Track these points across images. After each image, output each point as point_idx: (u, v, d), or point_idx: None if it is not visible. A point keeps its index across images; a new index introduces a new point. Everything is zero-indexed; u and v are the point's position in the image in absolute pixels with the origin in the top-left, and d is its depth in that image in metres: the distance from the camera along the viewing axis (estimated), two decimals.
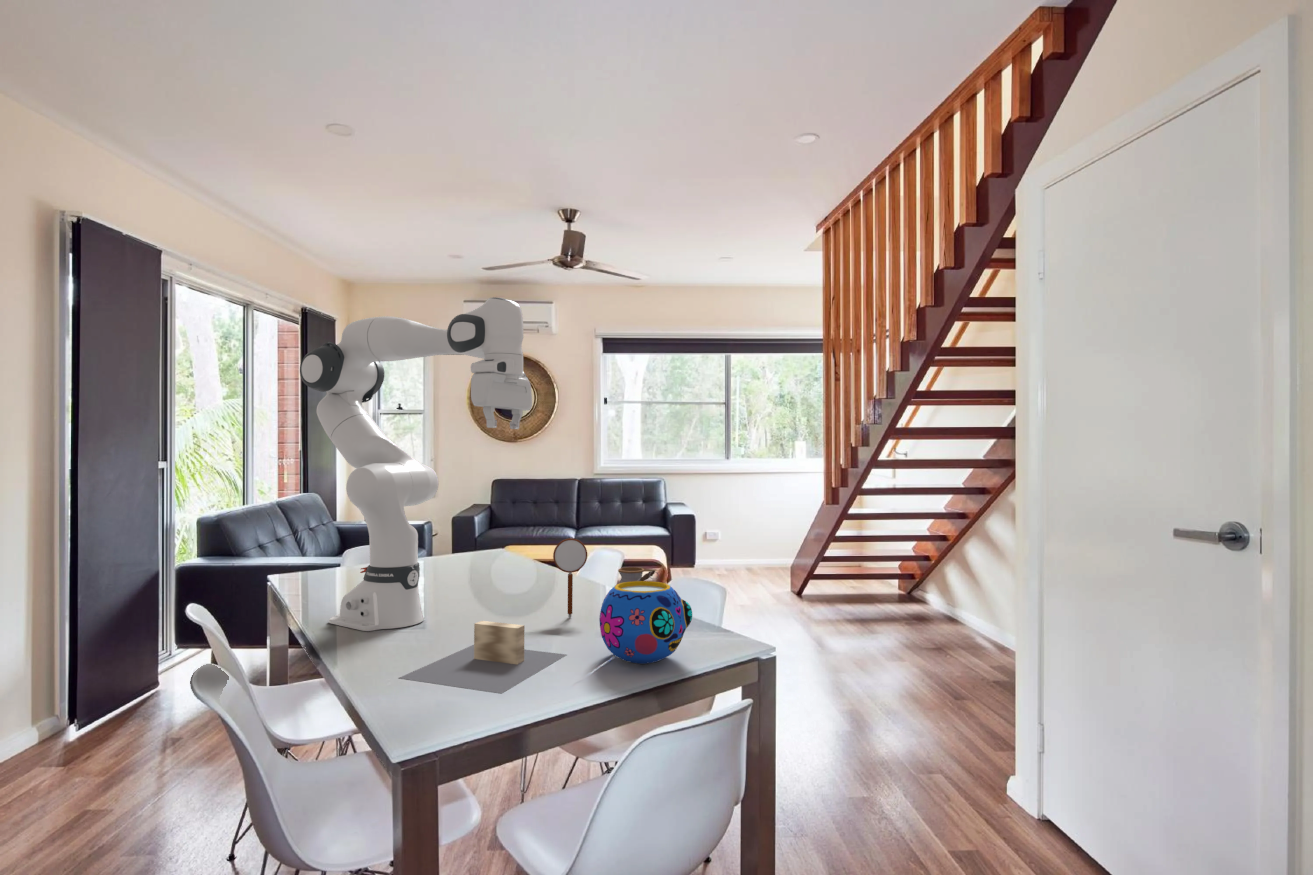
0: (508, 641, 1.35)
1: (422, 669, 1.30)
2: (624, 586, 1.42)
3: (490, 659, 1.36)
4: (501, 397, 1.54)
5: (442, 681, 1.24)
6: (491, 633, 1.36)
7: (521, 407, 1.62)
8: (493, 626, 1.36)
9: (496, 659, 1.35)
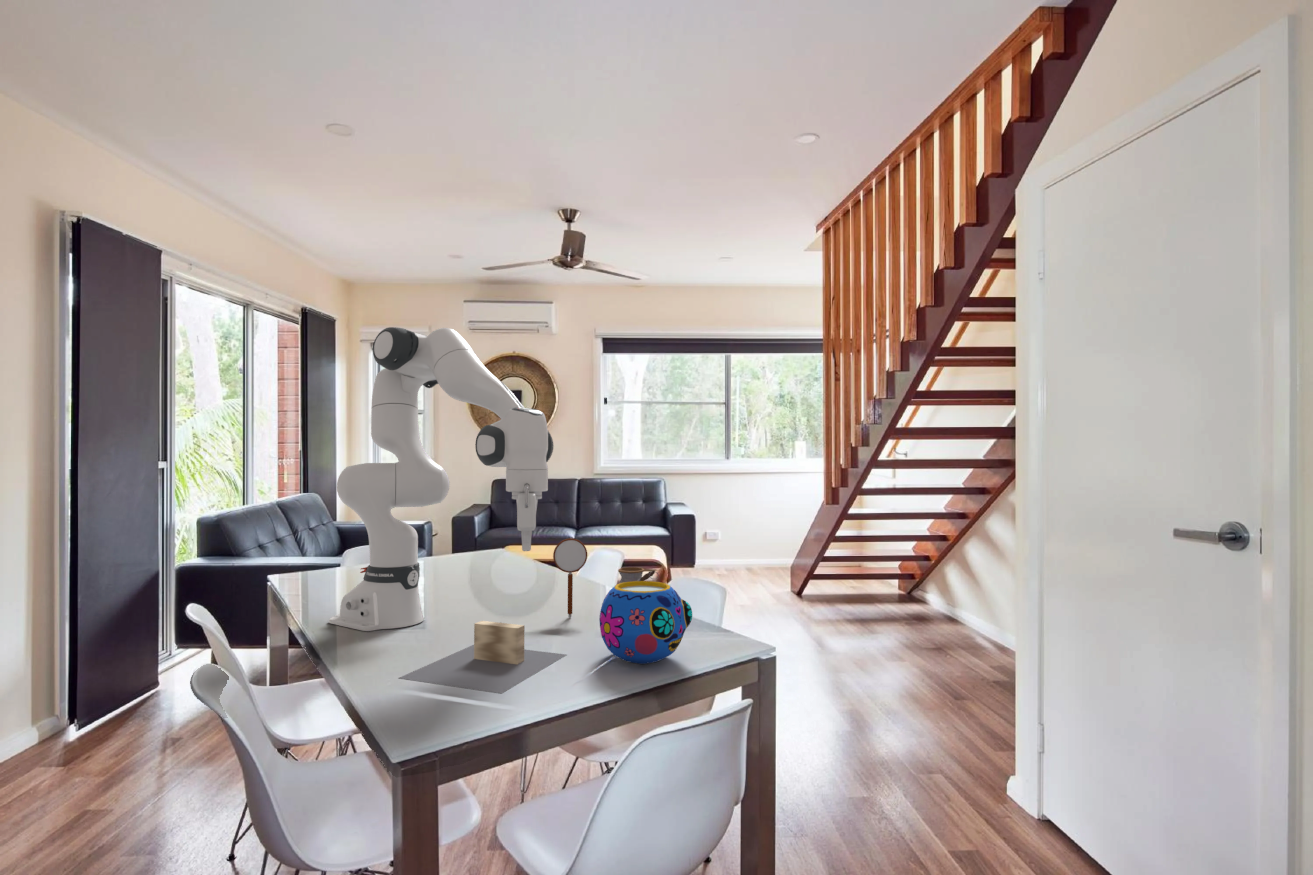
0: (508, 641, 1.35)
1: (422, 669, 1.30)
2: (624, 586, 1.42)
3: (490, 659, 1.36)
4: None
5: (442, 681, 1.24)
6: (491, 633, 1.36)
7: None
8: (493, 626, 1.36)
9: (496, 659, 1.35)
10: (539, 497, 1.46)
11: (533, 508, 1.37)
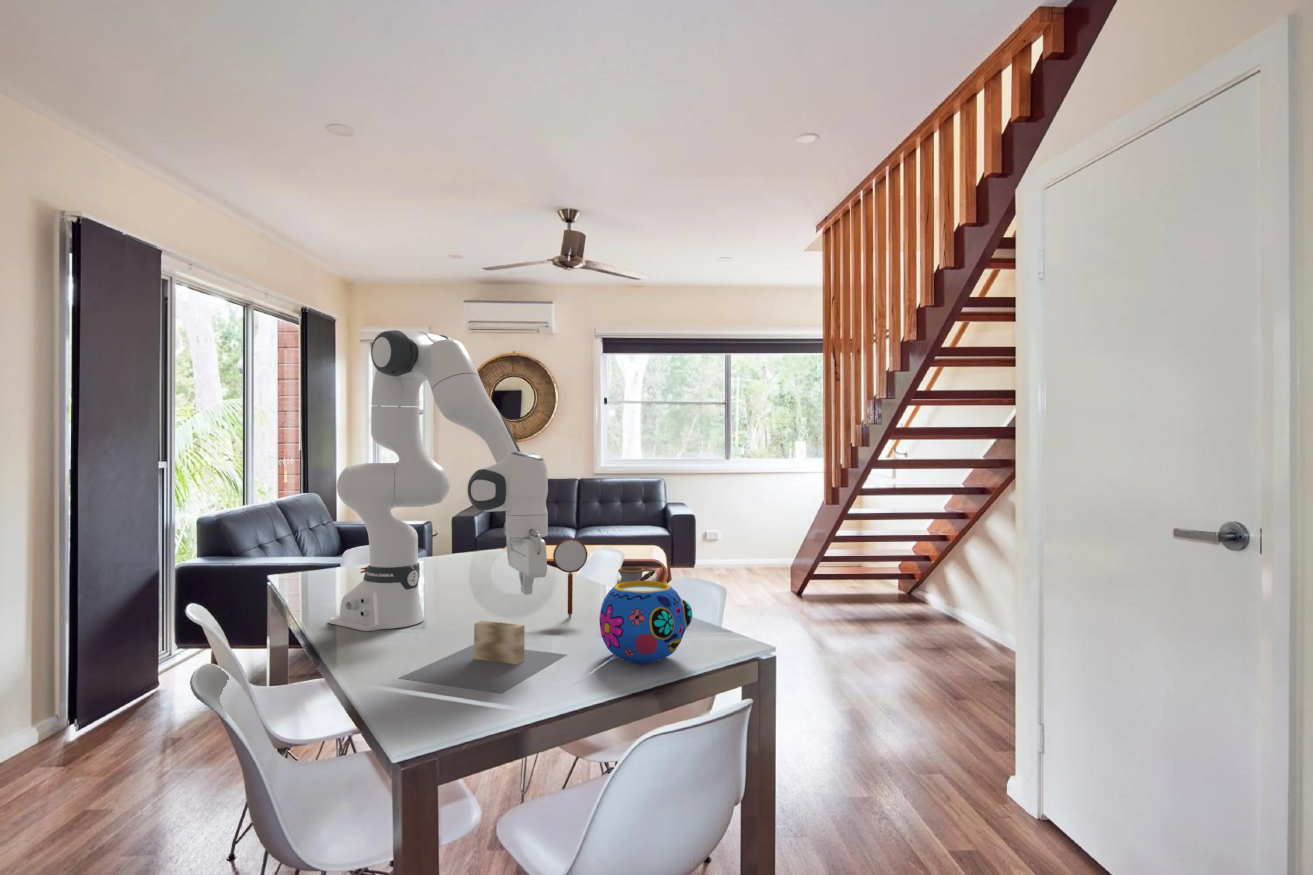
0: (508, 641, 1.35)
1: (422, 669, 1.30)
2: (624, 586, 1.42)
3: (490, 659, 1.36)
4: (514, 559, 1.48)
5: (442, 681, 1.24)
6: (491, 633, 1.36)
7: (523, 572, 1.41)
8: (493, 626, 1.36)
9: (496, 659, 1.35)
10: None
11: (545, 554, 1.38)
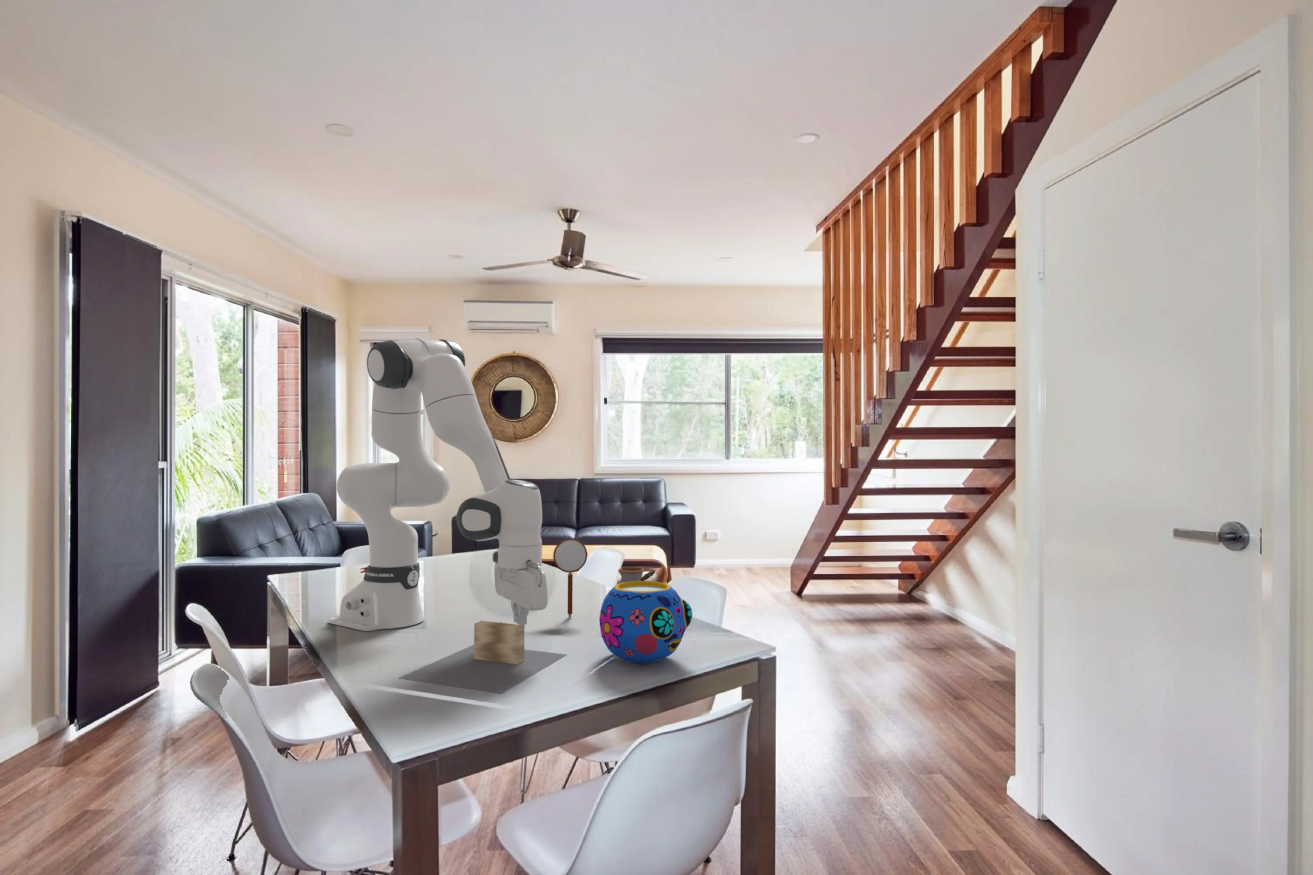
0: (508, 641, 1.35)
1: (422, 669, 1.30)
2: (624, 586, 1.42)
3: (490, 659, 1.36)
4: (506, 588, 1.46)
5: (442, 681, 1.24)
6: (491, 633, 1.36)
7: (521, 604, 1.39)
8: (493, 626, 1.36)
9: (496, 659, 1.35)
10: None
11: (545, 586, 1.37)
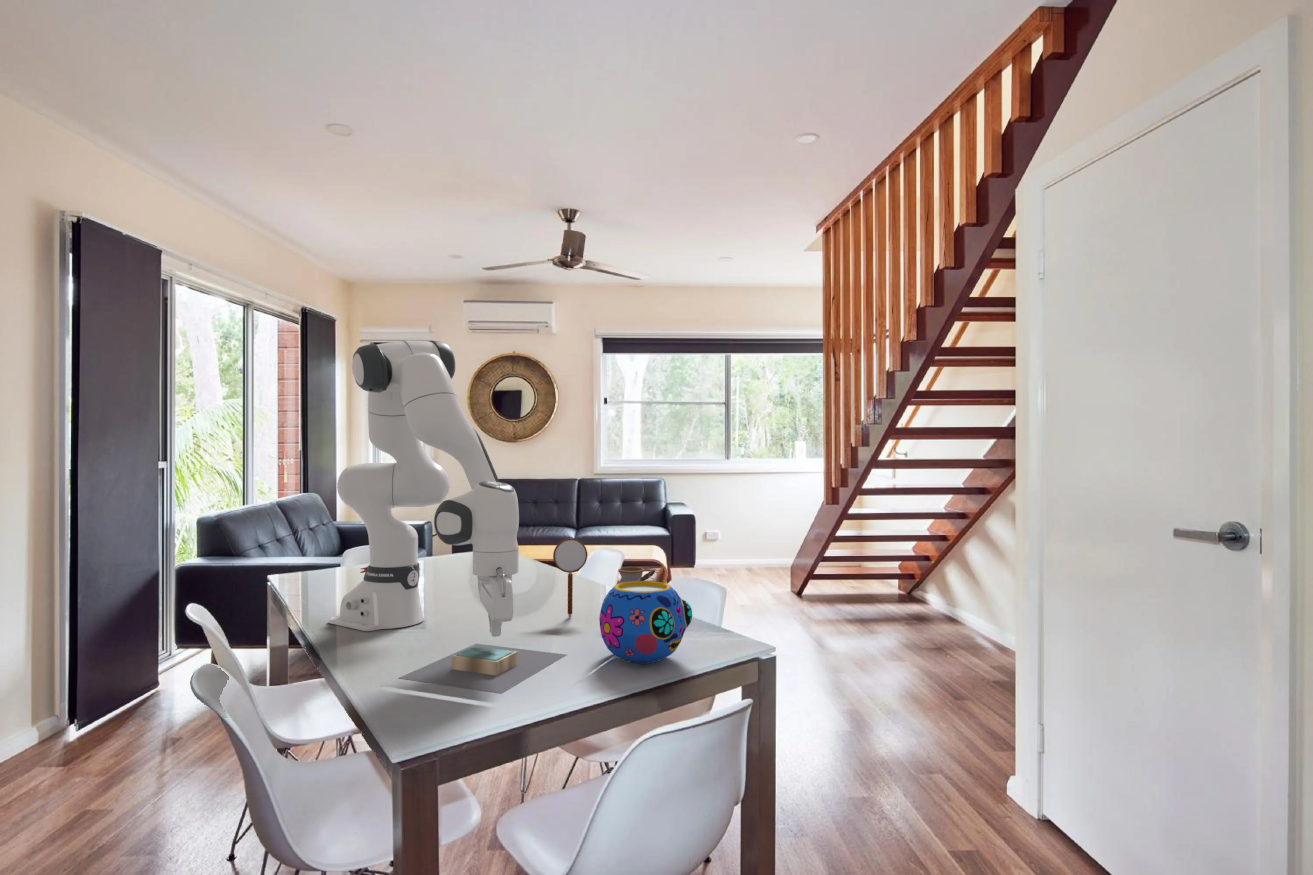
0: None
1: (422, 669, 1.30)
2: (624, 586, 1.42)
3: None
4: (483, 596, 1.38)
5: (442, 681, 1.24)
6: None
7: (489, 614, 1.30)
8: None
9: None
10: (510, 580, 1.35)
11: (510, 597, 1.27)
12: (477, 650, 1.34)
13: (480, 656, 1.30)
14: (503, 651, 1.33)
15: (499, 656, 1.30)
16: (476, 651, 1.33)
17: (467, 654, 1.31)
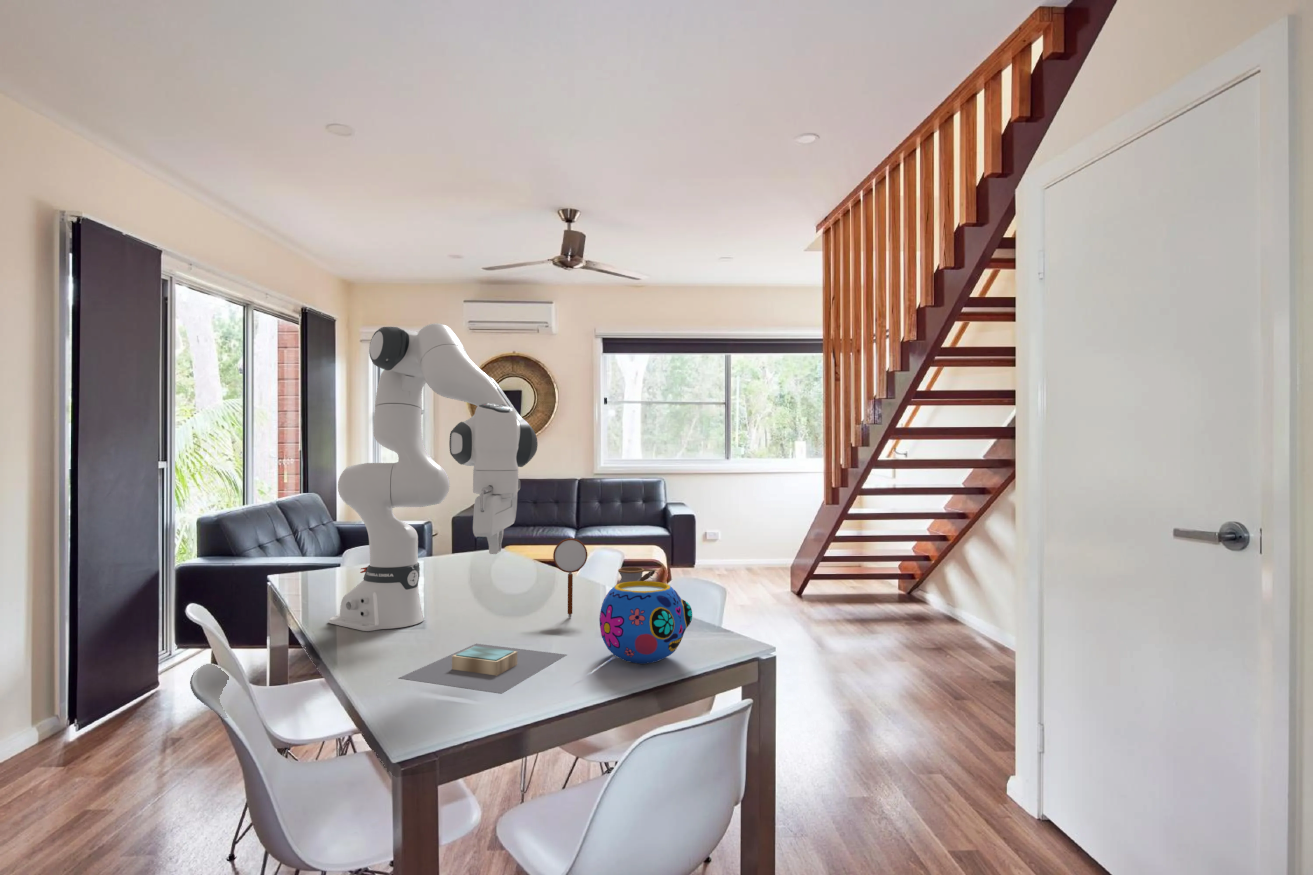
0: None
1: (422, 669, 1.30)
2: (624, 586, 1.42)
3: None
4: None
5: (442, 681, 1.24)
6: None
7: None
8: None
9: None
10: (506, 500, 1.36)
11: (489, 513, 1.28)
12: (477, 650, 1.34)
13: (480, 656, 1.30)
14: (503, 651, 1.33)
15: (499, 656, 1.30)
16: (476, 651, 1.33)
17: (467, 654, 1.31)
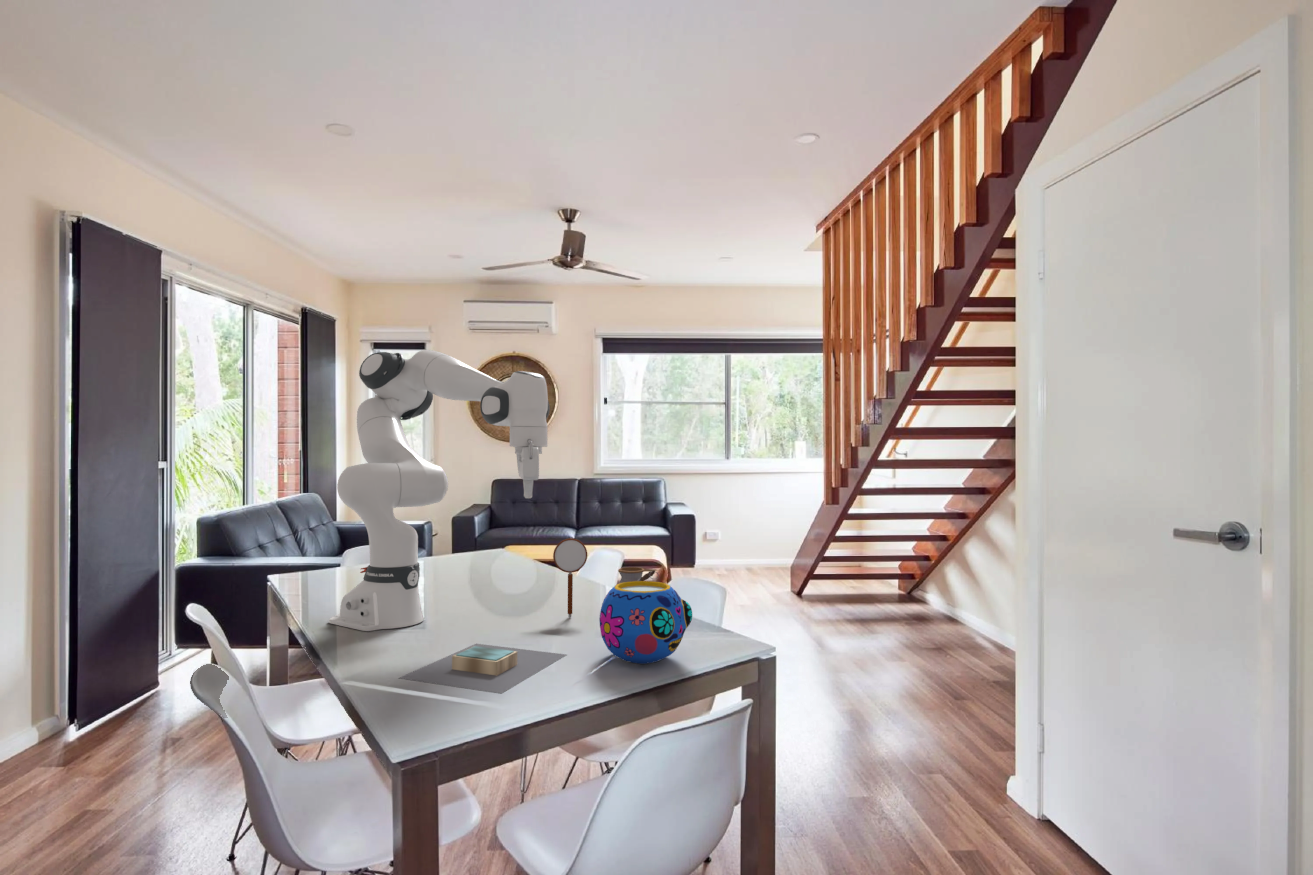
0: None
1: (422, 669, 1.30)
2: (624, 586, 1.42)
3: None
4: None
5: (442, 681, 1.24)
6: None
7: (521, 477, 1.57)
8: None
9: None
10: (540, 452, 1.61)
11: (537, 460, 1.53)
12: (477, 650, 1.34)
13: (480, 656, 1.30)
14: (503, 651, 1.33)
15: (499, 656, 1.30)
16: (476, 651, 1.33)
17: (467, 654, 1.31)
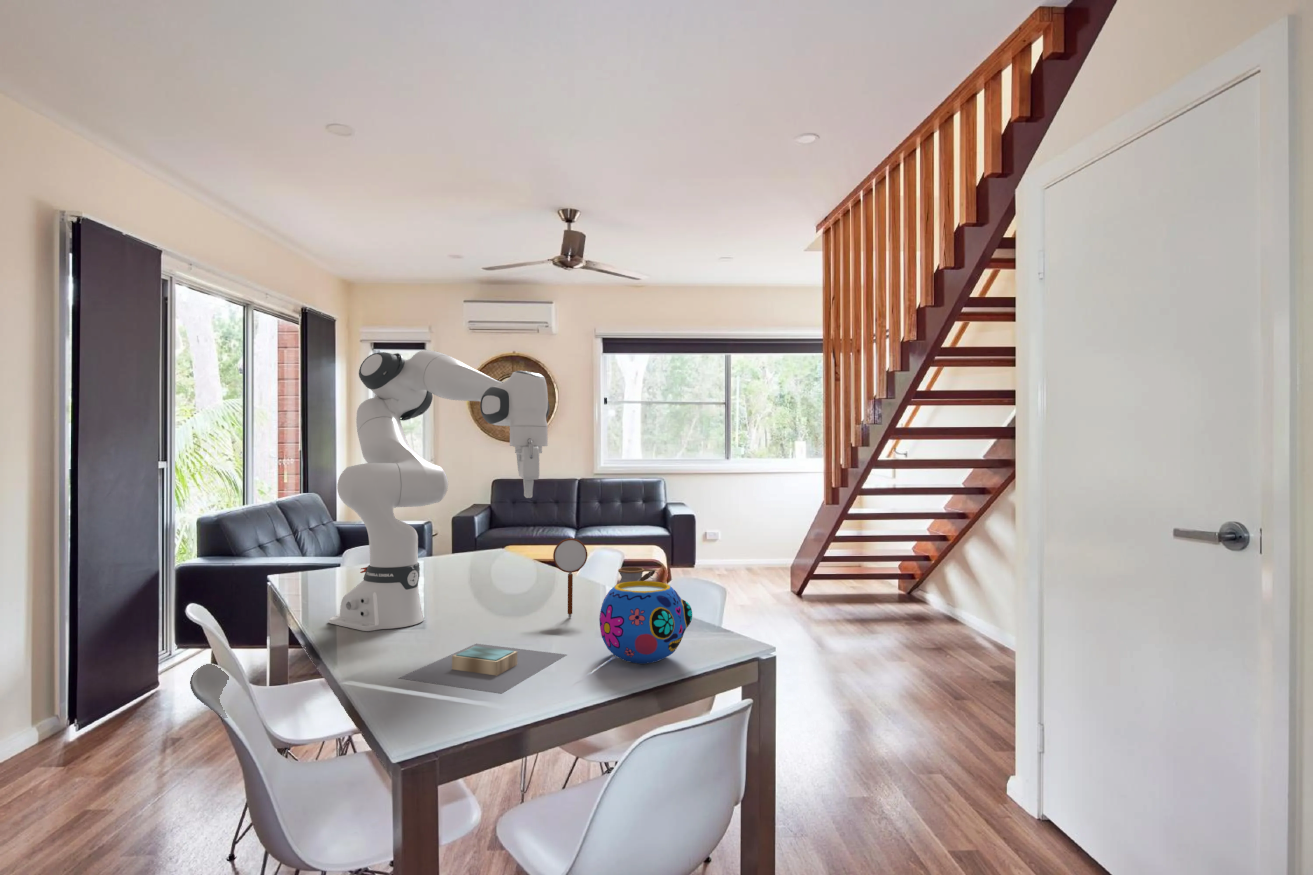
0: None
1: (422, 669, 1.30)
2: (624, 586, 1.42)
3: None
4: None
5: (442, 681, 1.24)
6: None
7: None
8: None
9: None
10: (540, 451, 1.62)
11: (537, 459, 1.54)
12: (477, 650, 1.34)
13: (480, 656, 1.30)
14: (503, 651, 1.33)
15: (499, 656, 1.30)
16: (476, 651, 1.33)
17: (467, 654, 1.31)
